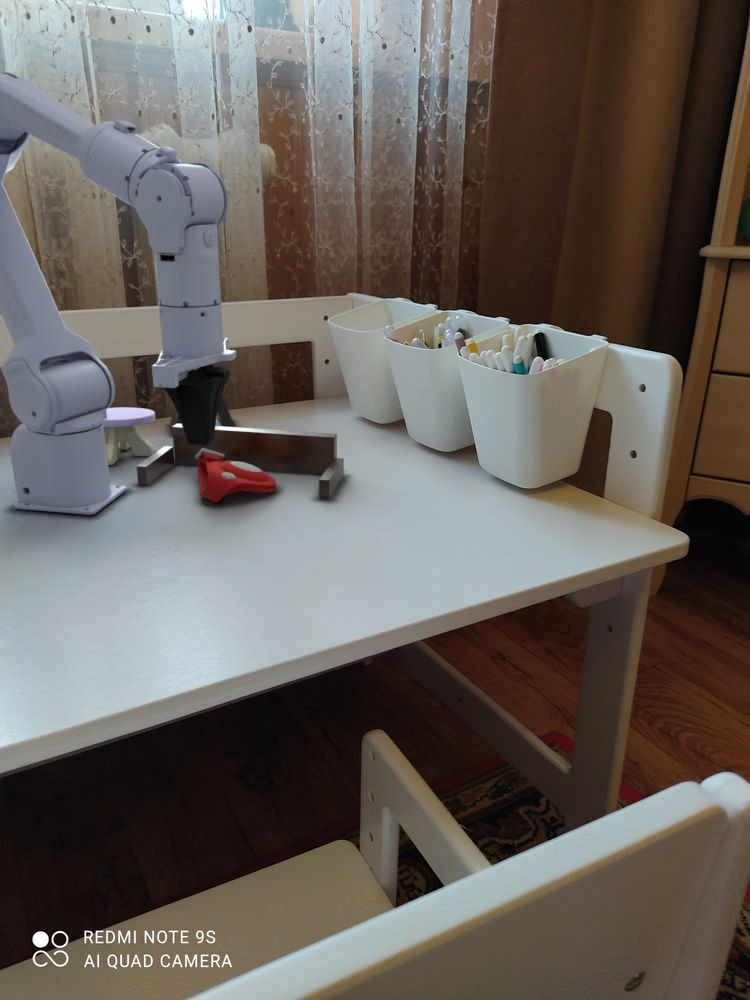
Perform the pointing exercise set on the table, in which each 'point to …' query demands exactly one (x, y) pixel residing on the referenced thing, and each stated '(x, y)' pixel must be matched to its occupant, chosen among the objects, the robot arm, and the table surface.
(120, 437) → the toy table
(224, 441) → the footed wooden plank
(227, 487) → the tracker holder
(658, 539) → the table surface
